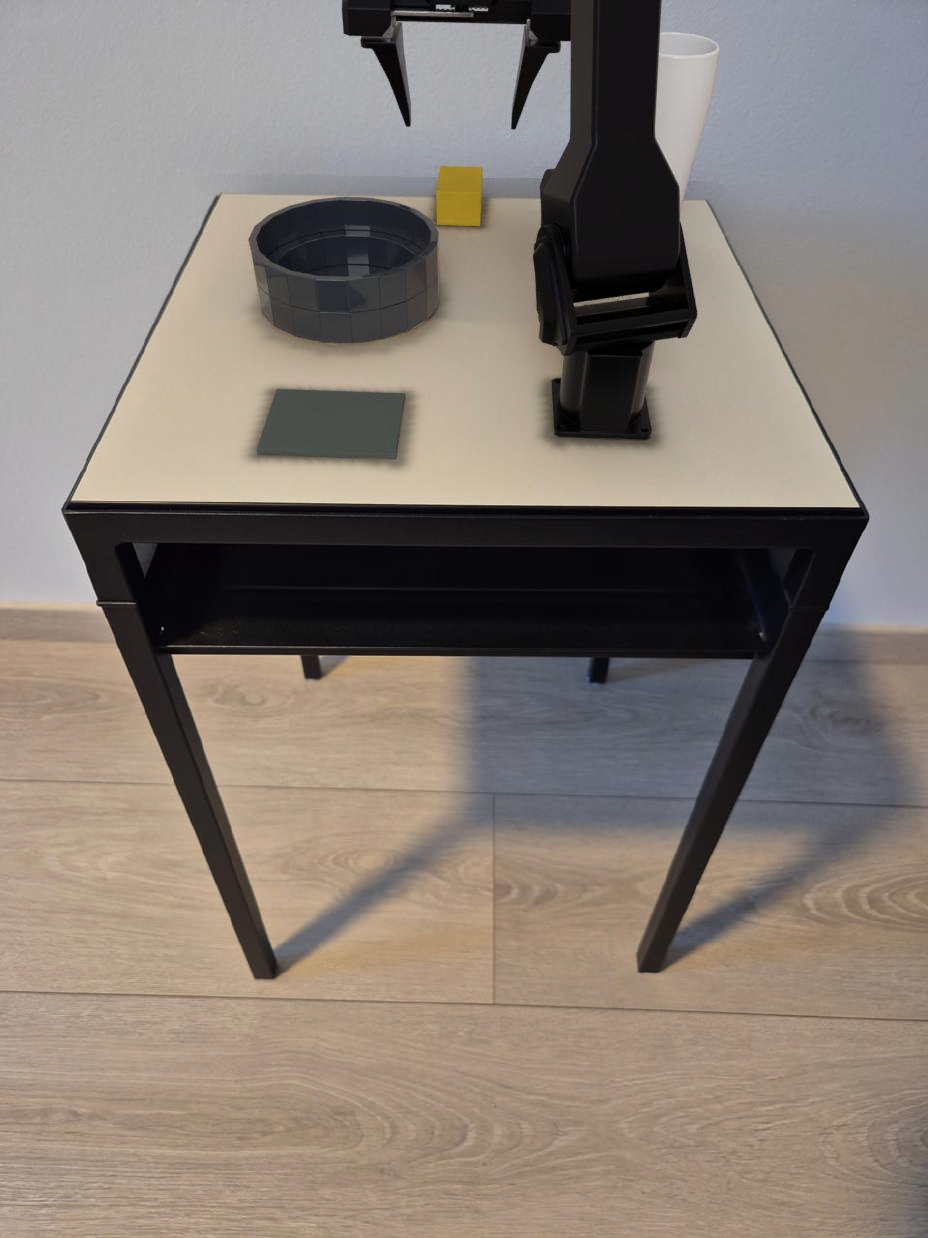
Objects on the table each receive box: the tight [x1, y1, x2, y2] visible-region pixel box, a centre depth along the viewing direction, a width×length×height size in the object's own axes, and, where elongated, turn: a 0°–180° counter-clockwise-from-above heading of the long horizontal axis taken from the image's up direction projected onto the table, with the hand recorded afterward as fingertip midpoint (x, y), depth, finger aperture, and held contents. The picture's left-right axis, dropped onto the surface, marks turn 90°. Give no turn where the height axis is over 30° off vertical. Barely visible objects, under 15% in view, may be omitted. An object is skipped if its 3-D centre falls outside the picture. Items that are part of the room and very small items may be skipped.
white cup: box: [655, 31, 721, 212], centre depth 73 cm, size 7×7×15 cm
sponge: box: [435, 165, 484, 227], centre depth 80 cm, size 6×4×3 cm, turn 178°
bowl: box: [247, 196, 441, 344], centre depth 67 cm, size 14×14×6 cm
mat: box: [256, 388, 406, 460], centre depth 58 cm, size 7×9×1 cm
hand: (460, 126), depth 76 cm, fingers open, 9 cm apart
